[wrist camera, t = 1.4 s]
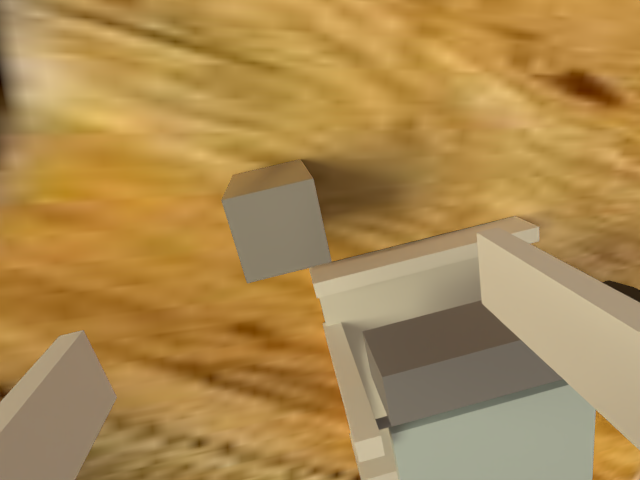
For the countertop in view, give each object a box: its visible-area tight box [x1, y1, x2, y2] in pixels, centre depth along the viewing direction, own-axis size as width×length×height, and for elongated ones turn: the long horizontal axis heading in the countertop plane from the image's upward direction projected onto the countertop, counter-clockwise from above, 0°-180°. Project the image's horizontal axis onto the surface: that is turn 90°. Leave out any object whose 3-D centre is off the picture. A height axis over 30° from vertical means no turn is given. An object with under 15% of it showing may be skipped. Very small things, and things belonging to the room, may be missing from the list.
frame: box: [309, 216, 539, 480], centre depth 29 cm, size 18×20×12 cm
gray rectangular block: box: [222, 159, 332, 283], centre depth 25 cm, size 5×5×8 cm
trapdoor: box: [362, 300, 596, 480], centre depth 26 cm, size 13×14×4 cm
